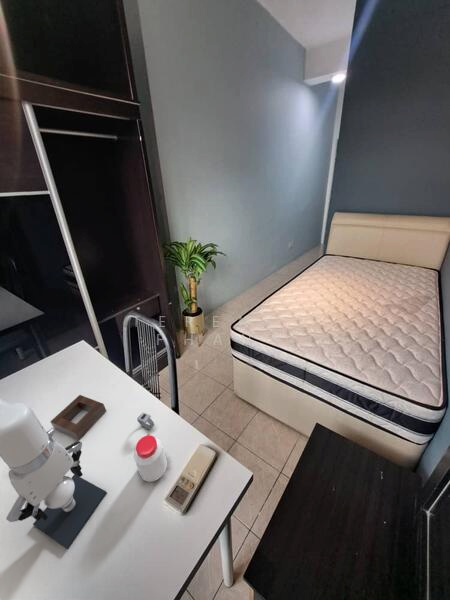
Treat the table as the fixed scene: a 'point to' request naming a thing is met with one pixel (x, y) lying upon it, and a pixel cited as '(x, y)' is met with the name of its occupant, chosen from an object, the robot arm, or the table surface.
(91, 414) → the socket block
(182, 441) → the table surface
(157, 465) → the pill bottle
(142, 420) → the wristwatch
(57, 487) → the lightbulb
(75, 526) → the mat
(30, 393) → the table surface
